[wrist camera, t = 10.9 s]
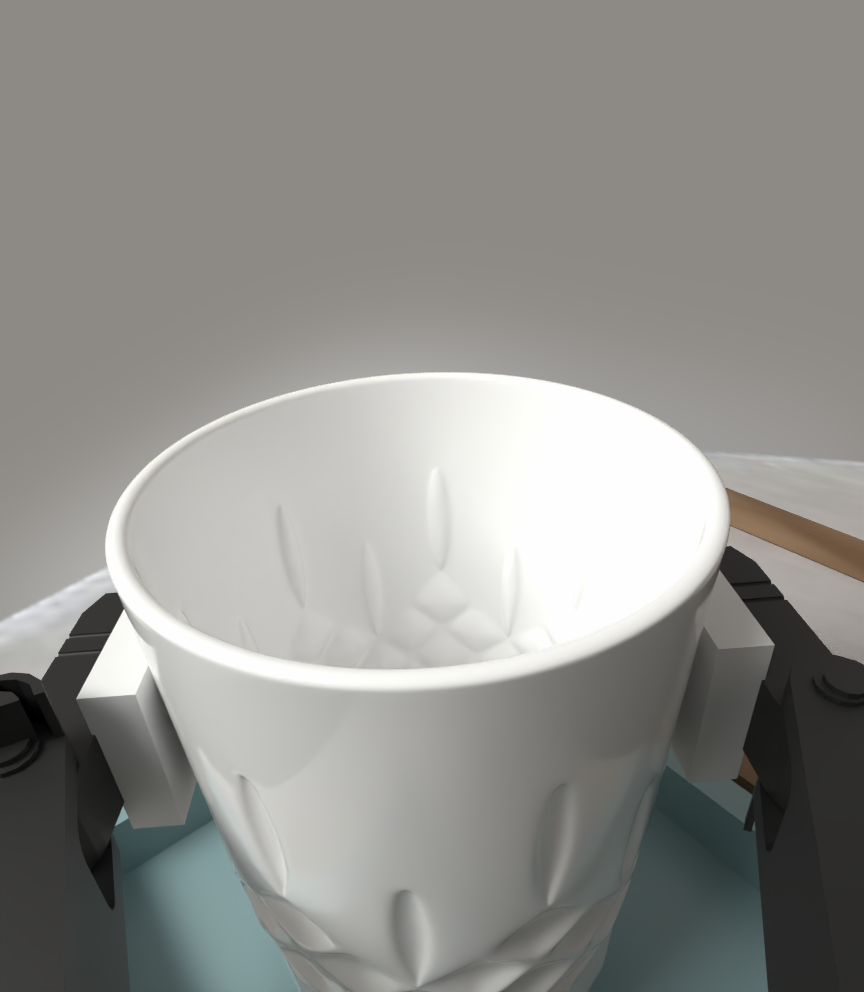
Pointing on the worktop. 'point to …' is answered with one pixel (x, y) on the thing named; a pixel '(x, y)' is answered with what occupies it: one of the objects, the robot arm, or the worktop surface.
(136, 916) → the teal bin
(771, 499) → the worktop surface
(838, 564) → the walnut frame
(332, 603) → the white cup
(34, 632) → the worktop surface
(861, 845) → the robot arm
